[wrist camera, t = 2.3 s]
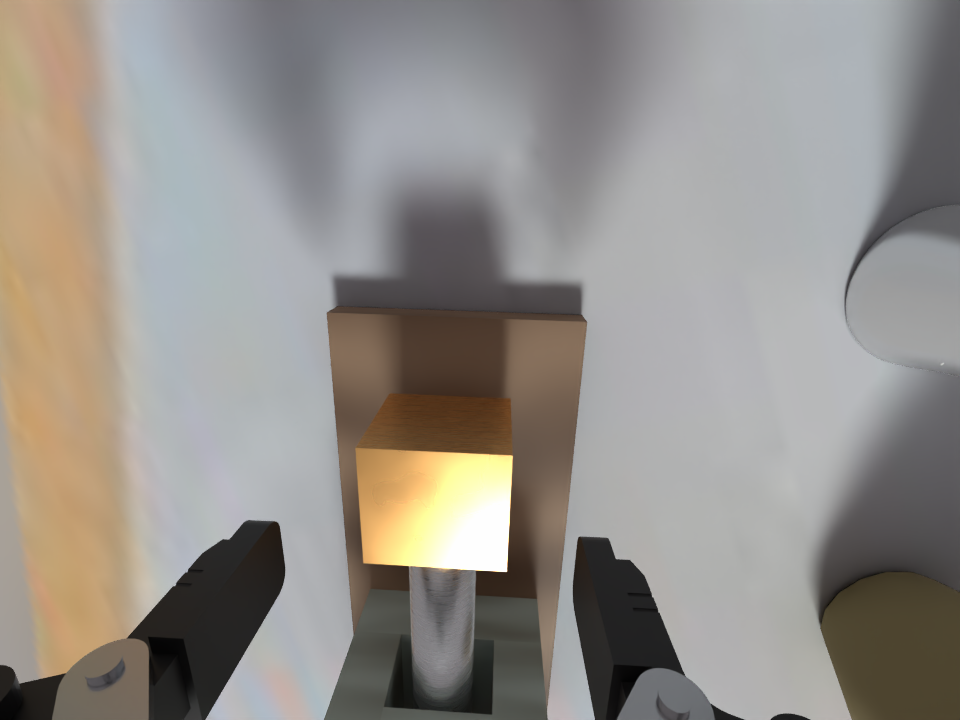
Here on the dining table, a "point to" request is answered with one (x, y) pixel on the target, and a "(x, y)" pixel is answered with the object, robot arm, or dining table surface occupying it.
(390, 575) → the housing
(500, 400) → the shaft
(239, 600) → the robot arm
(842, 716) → the dining table surface
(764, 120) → the dining table surface
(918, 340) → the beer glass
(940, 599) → the squeeze bottle
